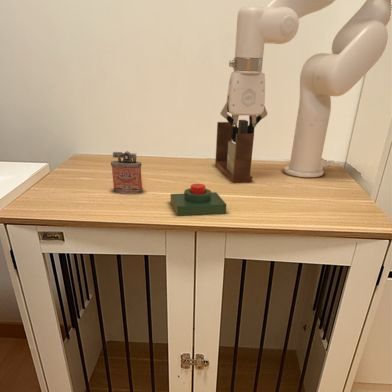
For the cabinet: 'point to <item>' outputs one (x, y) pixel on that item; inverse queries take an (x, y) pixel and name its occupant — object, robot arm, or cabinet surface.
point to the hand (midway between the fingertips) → (241, 140)
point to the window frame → (234, 154)
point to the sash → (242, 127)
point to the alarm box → (197, 203)
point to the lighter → (126, 173)
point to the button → (198, 188)
